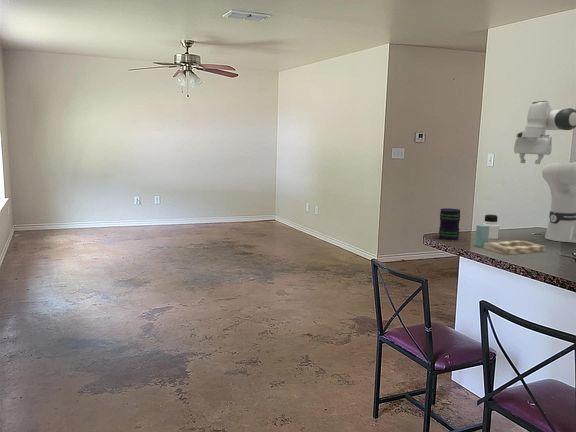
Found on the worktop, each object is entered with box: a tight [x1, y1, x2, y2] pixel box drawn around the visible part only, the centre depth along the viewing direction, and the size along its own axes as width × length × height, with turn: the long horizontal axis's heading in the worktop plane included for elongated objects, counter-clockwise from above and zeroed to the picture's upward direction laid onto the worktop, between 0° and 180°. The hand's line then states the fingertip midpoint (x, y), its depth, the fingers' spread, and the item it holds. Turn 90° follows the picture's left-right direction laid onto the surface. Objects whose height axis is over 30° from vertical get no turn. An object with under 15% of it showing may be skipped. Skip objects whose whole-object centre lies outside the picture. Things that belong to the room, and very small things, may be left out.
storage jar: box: [438, 207, 461, 241], centre depth 252 cm, size 10×10×15 cm
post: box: [474, 224, 489, 248], centre depth 235 cm, size 4×4×10 cm
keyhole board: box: [483, 239, 546, 256], centre depth 228 cm, size 22×14×2 cm, turn 108°
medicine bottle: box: [481, 214, 500, 240], centre depth 255 cm, size 7×7×12 cm
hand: (529, 163), depth 239 cm, fingers open, 8 cm apart
